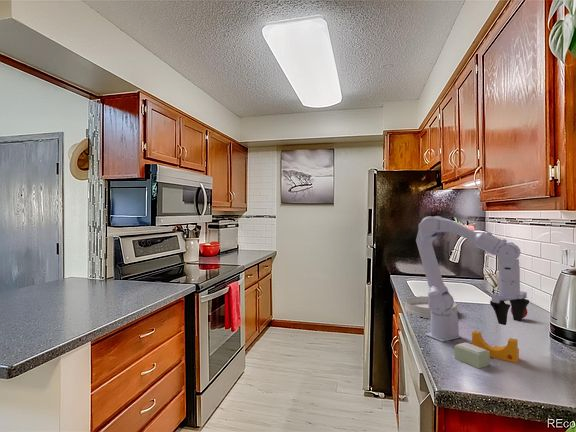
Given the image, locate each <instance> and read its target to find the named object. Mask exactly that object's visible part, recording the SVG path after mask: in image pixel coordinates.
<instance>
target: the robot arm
mask: <svg viewBox="0 0 576 432" xmlns="http://www.w3.org/2000/svg"><path fill="white" fill-rule="evenodd" d="M443 232H444V233H449V232H450V233H453V234H455V235H458V236H459V237H462V238H464V239H467V240H469V241H472V242H473V244H474V247H475V248H478V249H480V250H482V251H484V252H487V253H488V254H491V255H493V256H496V257H497V258H498V261H499V262H498V293H496V294H495V295H491V300H490V301H489V304H490V305H491V307H492V309H493V312H494V313H495V316H496V320H497V323H498V324H499V325H503V326H506V325H507V322H508V313H509V309H511V308H510V307H512V313H513V315H512V317H513V318H512V320H513V321H517V322H519V323H521V322H522V320H523V318H522V317H523V314H524V311H525V308H528V307H527V306H528V305H529V304H530V300H529V299H527V298H528V295H527V293H528V292H526V291H521V275H520V273H521V267H520V259H519V258H520V256H521V248H520V247H519V246H518V245H517V244H515V243H514V242H508V239H505V238H504V239H501V238H500V237H497V236H495V235H493V233H492V232H490V231H487V232H486V231H481V232H477V231H474V230H472V229H470V228H468V227H466V226H463V225H462V224H460V223H458V222H456V221H453V220H451V219H449V218H445V217H442V216H441V215H435V216H431V215H429V216H425V217H423V218H422V220H421V221H420V223H418V230H417V235H416V239H415V242H416V245H417V249H418V253H419V258H420V260H421V264H422V267H423V271H424V274H425V278H426V281H427V285H428V291H427V295H428V296H427V297H429V301H428V306H429V308H430V310H431V319H430V332H426V333H424V334H425V336H428V337H430V338H432V339H435V340H437V341H440V342H448V341H451V340H452V341H453V340H455V339H460V338H462V336H461V335H460V334H459V333H460V330H459V329H460V327H459V325H460V323H459V317H458V314H457V315H456V313H454V312H453V311H451V307H452V306H453V304H454V302H455V300H454V297H453V296H452V294H451V293H450V292H449V289H448V287H447V286H446V285H445V283H444V279H443V277H442V276H443V275H442V273H441V270H440V265H439V263H438V260H437V257H436V253H435V249H434V246H433V242H434V241H435V239H436V238H437V237H438V235H440V234H441V233H443ZM508 301H509V304H508V303H506V302H508ZM512 313H511V314H512Z"/></svg>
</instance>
